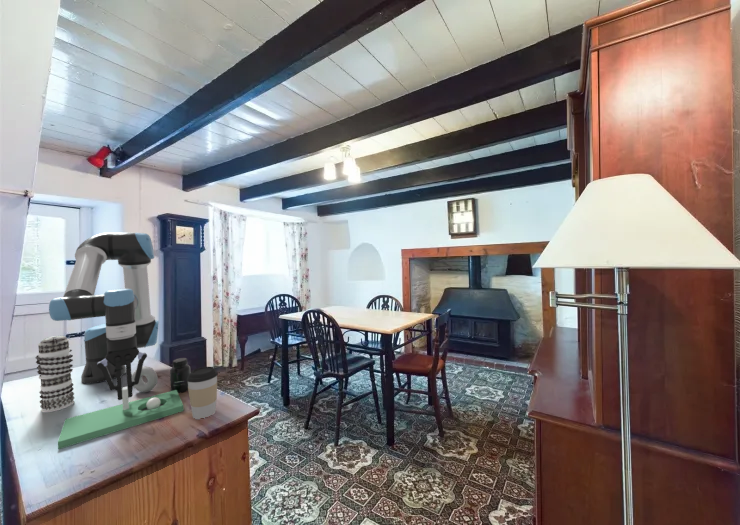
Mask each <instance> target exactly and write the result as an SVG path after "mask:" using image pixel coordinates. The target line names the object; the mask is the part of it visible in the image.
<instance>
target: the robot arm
mask: <svg viewBox="0 0 740 525" xmlns="http://www.w3.org/2000/svg"><path fill="white" fill-rule="evenodd" d="M74 258H75V263H74V266H73V269H72V271H71V274H70V277H69V280H68V283H67V285H66V288H65V291H64V294H63V296H59V297H55V298H52V299H51V300H50V302H49V304H48V313H49V317H50V319H51V320H52V321H55V322H56V321H57V322H60V321H61V322H62V321H73V320H74V321H75V320H83V319H90V318H101V317H104V318H105V323H102V324H98V325H96V326H92V327H89V328H87V329H86V330H85V331H84V339H83V342H84V353H85V364H84V368H83V370H82V374H81V377H80V378H81V383H83V384H97V383H103V382H106V384H107V386H108V389H109V391H110V392H111V391H116V393H117V400H118V401H122V404H123V410H126V409H129V402H130V400H129V398H132V397H133V388H134V387H133V386H134V385H137V384H138V383H139V380H140V375H141V371H142V367H144V362H145V360H147V357H148V354H147V353H146V352H141V351H140V350H139V349H141V348H146V347H153V346H155V345H156V344H157V342H158V335H159V334H158V333H159V325H160V324H159V323H160V321H159V320H156V317H155V316H154V315H152V314H151V302H150V288H149V276H148V275H149V274H148V272H149V271H148V266H149V265H150V264H152V260H153V259H155V251H154V246H153V242H152V238H151V236H150V235H149V234H148V233H144V232H102V233H98V234H94V235H93V236H90V237H89V238H86V240H83V241H82V242H81V243H80V245H79V246H78V247H77V248H76V250H75V253H74ZM115 260H117V265H119V266H120V267H122V270H123V281H124V288H120V289H119V288H118V289H116V288H115V289H110V290H109V289H108V290H107V291H105V292H104V294H95V293H96V289H97V286H98V282H99V277H100V275H101V274H100V273H101V270H102V265H103V264H105V263H106V261H115ZM136 358H137V359H138V360H137V366H136V369H135V371H136V374H135V378H134V380H133V381H132V363H133V362H134V360H135V359H136ZM125 374H126V386H124V387H123V383H122V376H124V375H125ZM114 379H116V384H115V383H114V381H113V380H114Z"/></svg>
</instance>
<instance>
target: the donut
mask: <svg viewBox="0 0 740 525" xmlns="http://www.w3.org/2000/svg"><path fill="white" fill-rule="evenodd" d="M135 374H136V370H135V371H134V372H132V374H131V376H132V381H133V380H134V378H135ZM143 376H144V377H145V378H146V380H147V381H146V382H145V381H144V380H143ZM157 384H158V374H157V372H156V371H155V369H153V368H152V367H150V366H143V367H142V371H141V375H140V380H139V383H138V384H137V385H134V386H133V387H132V388H134V389H135V390H136V391H137V392H140V393H149V392H151V391H152V390H154V388H156V386H157Z"/></svg>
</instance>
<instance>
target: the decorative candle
mask: <svg viewBox="0 0 740 525" xmlns="http://www.w3.org/2000/svg"><path fill="white" fill-rule="evenodd" d="M70 340H71V339H70V338H67V336H65V335H55V336H54V335H53V336H50V337H46V338H43V339H42V340H41V341H40V343H37V346H38V354H37V355H36V356H35V359H36V361H35V363H36V365H37V366H36V369H37V370H38V371H36V372H37V374H38V379H39V380H40V391H39V392H38V393H39V394H40V395H39V398H40V401H39V404H40V405H39V406H40V408H41V409H40V412H41V411H42V412H41V413H51V412H52V413H53V412H57V411H60V410H64V409H66V408H68V407H71V406H72V405H74V403H75V400H74V399H75V396H74V395H75V392H74V391H73V390H74V383H73V379H72V378H71V377H72V374H71V373H72V372H73V370H74V369H73V368H72V367H74V365H73V364H71V363H72V362H73V361H74V360H73V358H72V357H73V354H70V353H72V351H73V349H71V347H70V346H69V345H70V342H69V341H70Z"/></svg>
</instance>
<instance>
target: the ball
mask: <svg viewBox="0 0 740 525" xmlns="http://www.w3.org/2000/svg"><path fill="white" fill-rule="evenodd" d="M160 403H161V402H160V399H159V398H156V397H154V398H151V399H149V400H148V402H147V404H146V407H147V409H149V410H152V409H155V408H158V407H159V406H160Z"/></svg>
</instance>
